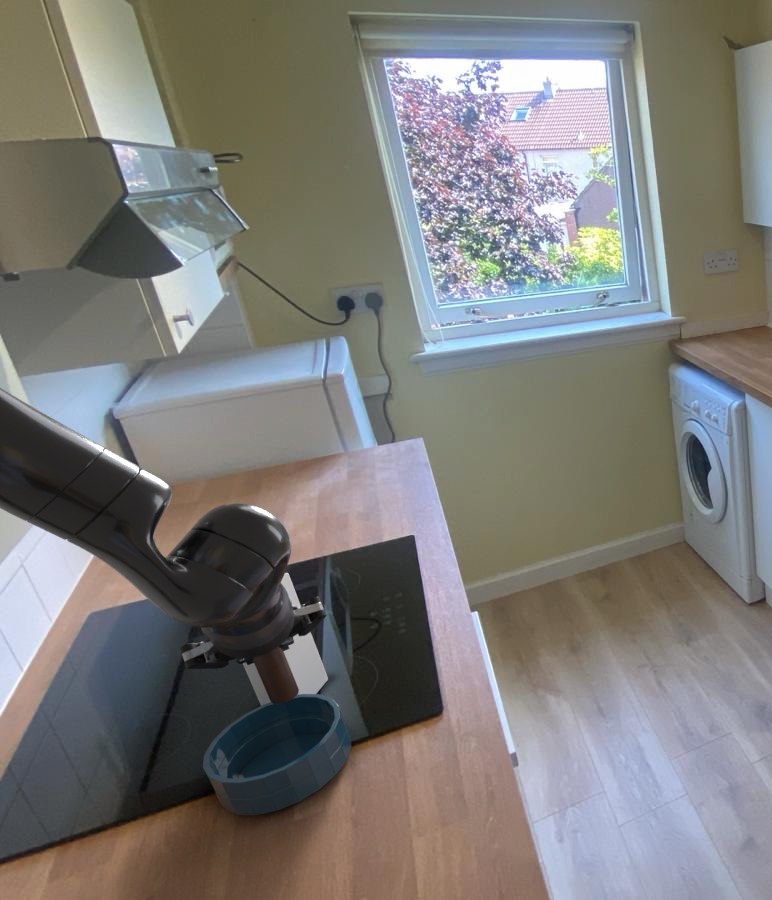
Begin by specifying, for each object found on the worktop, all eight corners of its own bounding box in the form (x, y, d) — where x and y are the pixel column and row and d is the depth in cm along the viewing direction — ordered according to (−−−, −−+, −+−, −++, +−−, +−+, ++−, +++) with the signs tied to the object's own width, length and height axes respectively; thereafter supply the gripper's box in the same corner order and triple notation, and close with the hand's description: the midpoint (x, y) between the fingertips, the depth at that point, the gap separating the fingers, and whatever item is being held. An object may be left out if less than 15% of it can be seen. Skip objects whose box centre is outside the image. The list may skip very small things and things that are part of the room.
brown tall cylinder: (281, 706, 89) (253, 641, 84) (264, 700, 90) (236, 635, 85) (304, 690, 91) (278, 625, 87) (287, 684, 92) (261, 620, 88)
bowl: (274, 833, 85) (256, 797, 82) (193, 798, 90) (174, 763, 87) (377, 743, 97) (365, 709, 94) (301, 716, 102) (288, 683, 99)
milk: (289, 680, 108) (238, 553, 99) (329, 679, 108) (282, 552, 99) (261, 710, 103) (204, 579, 94) (304, 709, 103) (251, 578, 94)
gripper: (311, 555, 81) (320, 598, 94) (149, 609, 72) (184, 648, 86) (336, 615, 79) (341, 650, 93) (174, 678, 71) (205, 707, 84)
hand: (265, 649), depth 89 cm, fingers closed on brown tall cylinder, 3 cm apart
